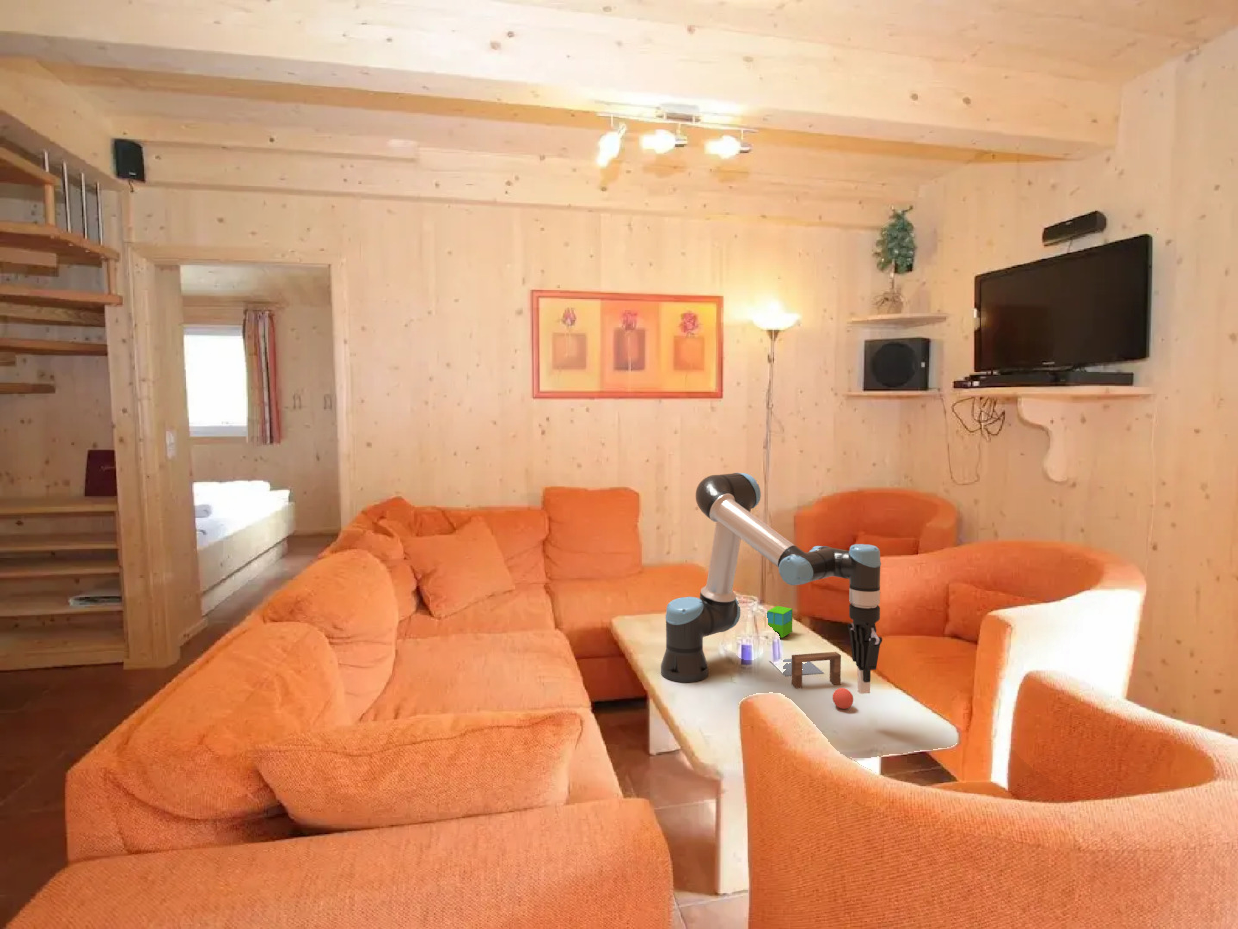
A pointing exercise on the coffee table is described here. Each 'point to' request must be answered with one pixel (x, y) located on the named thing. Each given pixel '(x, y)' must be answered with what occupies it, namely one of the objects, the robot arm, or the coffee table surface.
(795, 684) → the bridge
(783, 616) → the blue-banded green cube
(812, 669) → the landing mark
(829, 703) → the coffee table surface
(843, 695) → the ball
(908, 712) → the coffee table surface
